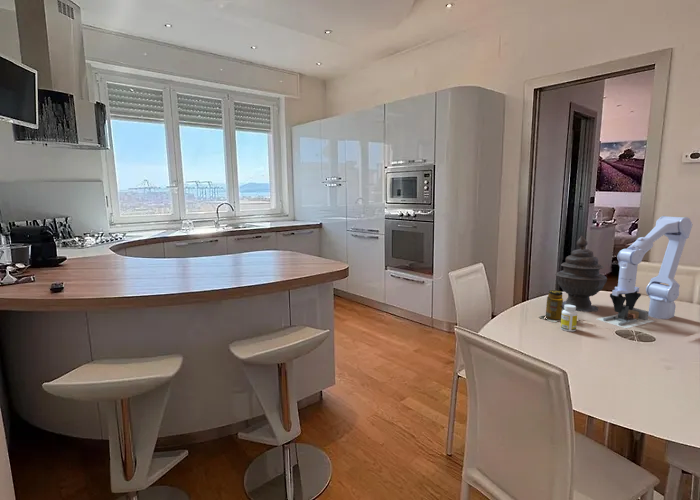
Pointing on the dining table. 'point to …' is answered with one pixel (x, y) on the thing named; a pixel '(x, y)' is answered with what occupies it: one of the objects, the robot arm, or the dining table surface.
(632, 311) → the nut
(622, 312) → the carriage
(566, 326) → the supplement bottle
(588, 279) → the decorative urn
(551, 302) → the condiment
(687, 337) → the dining table surface
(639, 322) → the board
